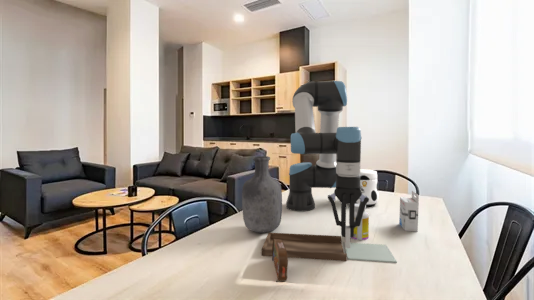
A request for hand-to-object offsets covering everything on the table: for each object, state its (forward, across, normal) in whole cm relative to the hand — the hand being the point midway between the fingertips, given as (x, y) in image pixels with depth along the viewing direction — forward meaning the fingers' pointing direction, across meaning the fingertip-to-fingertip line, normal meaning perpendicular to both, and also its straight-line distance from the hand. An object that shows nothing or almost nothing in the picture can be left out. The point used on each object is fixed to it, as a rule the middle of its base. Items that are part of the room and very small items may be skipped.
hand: (347, 246), depth 89 cm
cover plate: (+3, +6, 0) cm, 7 cm away
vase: (+3, -31, +17) cm, 36 cm away
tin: (+3, -21, -15) cm, 26 cm away
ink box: (+3, +28, +28) cm, 39 cm away
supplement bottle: (+3, +6, +13) cm, 14 cm away
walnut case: (+2, -14, 0) cm, 14 cm away
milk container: (+3, +16, +64) cm, 66 cm away
